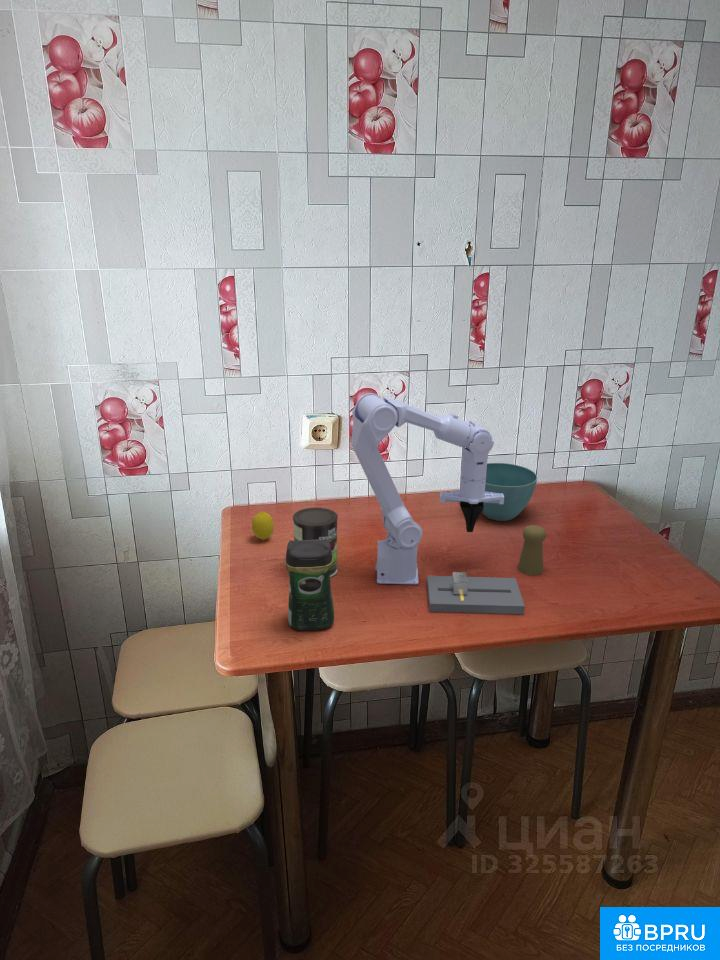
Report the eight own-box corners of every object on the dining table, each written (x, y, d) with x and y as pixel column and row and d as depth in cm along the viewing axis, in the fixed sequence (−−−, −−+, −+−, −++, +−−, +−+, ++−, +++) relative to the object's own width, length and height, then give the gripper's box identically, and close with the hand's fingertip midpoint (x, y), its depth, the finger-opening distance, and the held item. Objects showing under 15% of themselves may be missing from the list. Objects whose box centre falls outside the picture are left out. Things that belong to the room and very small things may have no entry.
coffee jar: (332, 610, 154) (332, 532, 148) (335, 631, 147) (334, 550, 140) (287, 612, 154) (284, 533, 147) (287, 633, 146) (284, 552, 139)
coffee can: (346, 568, 172) (346, 514, 167) (318, 585, 164) (317, 529, 159) (313, 555, 178) (312, 503, 172) (285, 571, 170) (283, 517, 165)
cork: (525, 577, 168) (529, 534, 164) (513, 564, 174) (517, 523, 170) (548, 573, 170) (553, 531, 166) (535, 561, 175) (540, 520, 171)
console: (429, 611, 154) (430, 603, 153) (427, 583, 165) (427, 575, 165) (523, 614, 154) (524, 605, 153) (514, 585, 165) (515, 577, 164)
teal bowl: (472, 498, 211) (475, 459, 207) (536, 506, 206) (540, 466, 202) (461, 523, 195) (463, 481, 191) (529, 533, 190) (533, 490, 186)
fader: (453, 594, 157) (454, 582, 156) (451, 584, 161) (452, 572, 160) (467, 594, 157) (468, 582, 156) (465, 584, 161) (466, 572, 160)
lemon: (248, 543, 184) (247, 514, 181) (258, 533, 189) (257, 506, 186) (268, 546, 182) (267, 517, 179) (277, 537, 187) (276, 508, 184)
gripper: (442, 482, 161) (439, 537, 166) (507, 483, 161) (502, 538, 166) (440, 471, 168) (437, 524, 173) (503, 472, 167) (498, 525, 172)
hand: (469, 530), depth 170 cm, fingers closed
